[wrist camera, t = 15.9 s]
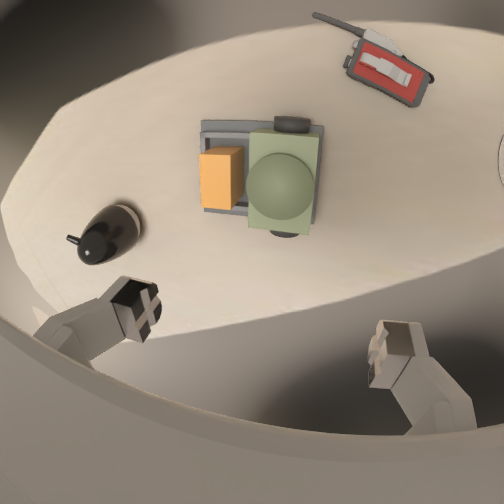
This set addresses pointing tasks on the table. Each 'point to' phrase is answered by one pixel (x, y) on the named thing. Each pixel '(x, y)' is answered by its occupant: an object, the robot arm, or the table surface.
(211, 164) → the orange cardboard box
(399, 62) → the walkie-talkie
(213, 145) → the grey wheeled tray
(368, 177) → the table surface
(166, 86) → the table surface
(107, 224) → the pump dispenser
